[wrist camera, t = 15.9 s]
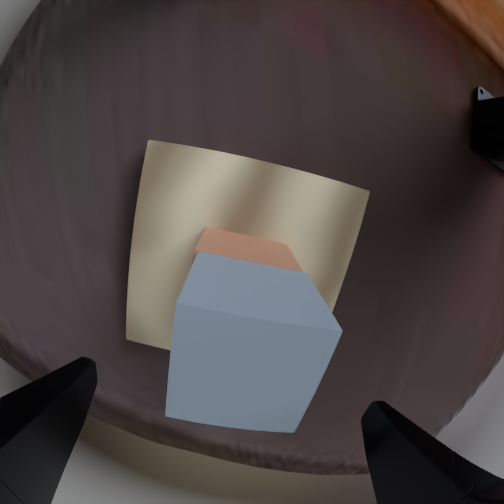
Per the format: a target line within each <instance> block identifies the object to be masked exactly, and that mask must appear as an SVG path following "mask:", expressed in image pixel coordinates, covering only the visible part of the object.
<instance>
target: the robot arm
mask: <svg viewBox="0 0 504 504" xmlns="http://www.w3.org/2000/svg"><path fill="white" fill-rule="evenodd" d="M480 92H481V93H480ZM475 145H476V147H475ZM471 149H472V150H473V151H474V152H475V153H477V154H478V155H480V156H481V157H483V158H484V159H486V160H487V161H489V162H490V163H492V164H493V165H494V166H496V167H497V168H498V169H500V170H501V171H502V172H504V97H496V98H494V97H493V96H492V95H491V94H489V93H488V92H487V91H486V90H485V89H483V88H482V87H476V90H475V107H474V119H473V128H472V136H471ZM96 386H97V372H96V363H95V361H94V360H93V359H90V358H87V357H80V358H78V359H76V360H74V361H73V362H71V363H69V364H67V365H65V366H63V367H61V368H59V369H57V370H55V371H53V372H51V373H49V374H47V375H45V376H43V377H41V378H39V379H37V380H35V381H33V382H31V383H29V384H27V385H25V386H23V387H21V388H19V389H17V390H15V391H13V392H11V393H9V394H7V395H5V396H3V397H1V398H0V504H51V502H52V499H53V497H54V494H55V492H56V489H57V486H58V484H59V481H60V479H61V476H62V474H63V471H64V469H65V466H66V464H67V462H68V459H69V457H70V455H71V452H72V450H73V448H74V445H75V443H76V441H77V439H78V436H79V434H80V432H81V429H82V427H83V425H84V422H85V419H86V416H87V413H88V410H89V407H90V404H91V401H92V398H93V395H94V392H95V389H96ZM361 425H362V432H363V439H364V446H365V453H366V459H367V463H368V467H369V471H370V475H371V480H372V483H373V488H374V492H375V497H376V501H377V504H504V479H502V478H500V477H497V476H495V475H493V474H492V473H490V472H488V471H485V470H484V469H482V468H480V467H478V466H477V465H475V464H473V463H471V462H470V461H468V460H466V459H465V458H463V457H462V456H460V455H458V454H457V453H456V452H454V451H452V450H451V449H450V448H448V447H447V446H446V445H444V444H443V443H441V442H440V441H438V440H437V439H436V438H434V437H433V436H431V435H430V434H428V433H427V432H426V431H424V430H423V429H421V428H420V427H419V426H417V425H416V424H414V423H413V422H412V421H410V420H409V419H408V418H406V417H405V416H403V415H402V414H401V413H399V412H398V411H397V410H395V409H394V408H393V407H391V406H390V405H389V404H387V403H386V402H384V401H373V402H372V403H371V404H370V405H369V407H368V408H367V410H366V411H365V413H364V414H363V416H362V419H361Z"/></svg>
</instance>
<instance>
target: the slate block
mask: <svg viewBox="0 0 504 504" xmlns="http://www.w3.org/2000/svg"><path fill="white" fill-rule="evenodd" d="M341 334H342V329H341V327H340V326H339V324H338V322H337V321H336V319H335V317H334V316H333V314H332V312H331V311H330V309H329V307H328V306H327V304H326V302H325V301H324V299H323V298H322V296H321V294H320V293H319V291H318V289H317V288H316V286H315V285H314V283H313V281H312V280H311V278H310V276H309V275H308V273H303V272H298V271H293V270H288V269H283V268H278V267H273V266H268V265H263V264H258V263H253V262H248V261H243V260H238V259H234V258H229V257H224V256H219V255H214V254H209V253H204V252H199V251H198V253H197V255H196V258H195V260H194V262H193V264H192V267H191V269H190V271H189V274H188V276H187V279H186V281H185V283H184V286H183V288H182V290H181V293H180V295H179V298H178V300H177V303H176V310H175V318H174V326H173V334H172V343H171V353H170V363H169V374H168V385H167V398H166V413H165V416H167V417H171V418H176V419H181V420H186V421H191V422H197V423H203V424H209V425H216V426H223V427H230V428H238V429H248V430H259V431H272V432H291V433H294V432H295V430H296V428H297V426H298V424H299V423H300V421H301V419H302V417H303V415H304V413H305V411H306V409H307V407H308V405H309V403H310V401H311V399H312V397H313V395H314V393H315V391H316V389H317V387H318V385H319V383H320V381H321V379H322V377H323V375H324V372H325V370H326V368H327V366H328V364H329V361H330V359H331V357H332V355H333V352H334V350H335V348H336V346H337V343H338V341H339V338H340V336H341Z"/></svg>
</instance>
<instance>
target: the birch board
mask: <svg viewBox="0 0 504 504" xmlns="http://www.w3.org/2000/svg"><path fill="white" fill-rule="evenodd" d="M369 193H370V191H368V190H365V189H362V188H358V187H355V186H352V185H349V184H346V183H342V182H339V181H336V180H332V179H329V178H325V177H322V176H319V175H315V174H311V173H308V172H304V171H300V170H297V169H293V168H289V167H285V166H281V165H277V164H273V163H269V162H265V161H260V160H256V159H252V158H247V157H243V156H238V155H233V154H229V153H224V152H219V151H214V150H208V149H203V148H198V147H192V146H186V145H180V144H174V143H168V142H161V141H155V140H148V144H147V149H146V154H145V159H144V164H143V169H142V174H141V180H140V186H139V192H138V198H137V205H136V212H135V219H134V227H133V235H132V244H131V254H130V265H129V278H128V293H127V315H126V339H127V340H131V341H134V342H138V343H142V344H146V345H150V346H154V347H158V348H163V349H167V350H171V343H172V334H173V326H174V318H175V310H176V303H177V300H178V298H179V295H180V293H181V290H182V288H183V286H184V283H185V281H186V279H187V276H188V274H189V271H190V269H191V266H192V260H193V254H194V250H195V248H196V246H197V244H198V242H199V240H200V238H201V236H202V234H203V232H204V230H205V228H206V227H210V228H214V229H219V230H224V231H229V232H234V233H238V234H243V235H248V236H252V237H257V238H262V239H266V240H271V241H276V242H280V243H285V244H287V246H288V247H289V249H290V251H291V252H292V254H293V256H294V257H295V259H296V261H297V262H298V264H299V266H300V267H301V269H302V271H303V272H304V273H308V275H309V276H310V278H311V280H312V281H313V283H314V285H315V286H316V288H317V289H318V291H319V293H320V294H321V296H322V298H323V299H324V301H325V302H326V304H327V306H328V307H329V309H330V311H331V312H332V311H333V308H334V306H335V303H336V300H337V297H338V294H339V292H340V289H341V286H342V283H343V280H344V277H345V274H346V271H347V268H348V265H349V262H350V259H351V256H352V253H353V249H354V246H355V243H356V240H357V236H358V233H359V230H360V226H361V223H362V219H363V216H364V212H365V208H366V205H367V201H368V197H369Z"/></svg>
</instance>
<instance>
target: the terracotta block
mask: <svg viewBox="0 0 504 504" xmlns="http://www.w3.org/2000/svg"><path fill="white" fill-rule="evenodd" d="M198 251H199V252H204V253H209V254H214V255H219V256H224V257H229V258H234V259H238V260H243V261H248V262H253V263H258V264H263V265H268V266H273V267H278V268H283V269H288V270H293V271H298V272H303V271H302V269H301V267H300V266H299V264H298V262H297V261H296V259H295V257H294V256H293V254H292V252H291V251H290V249H289V247H288V246H287V244H285V243H280V242H276V241H271V240H266V239H262V238H257V237H252V236H248V235H243V234H238V233H234V232H229V231H224V230H219V229H214V228H210V227H206V228H205V230H204V232H203V234H202V236H201V238H200V240H199V242H198V244H197V246H196V248H195V250H194V254H193V260H192V264H193V262H194V260H195V258H196V255H197V253H198ZM191 267H192V266H191ZM303 273H304V272H303Z"/></svg>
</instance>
